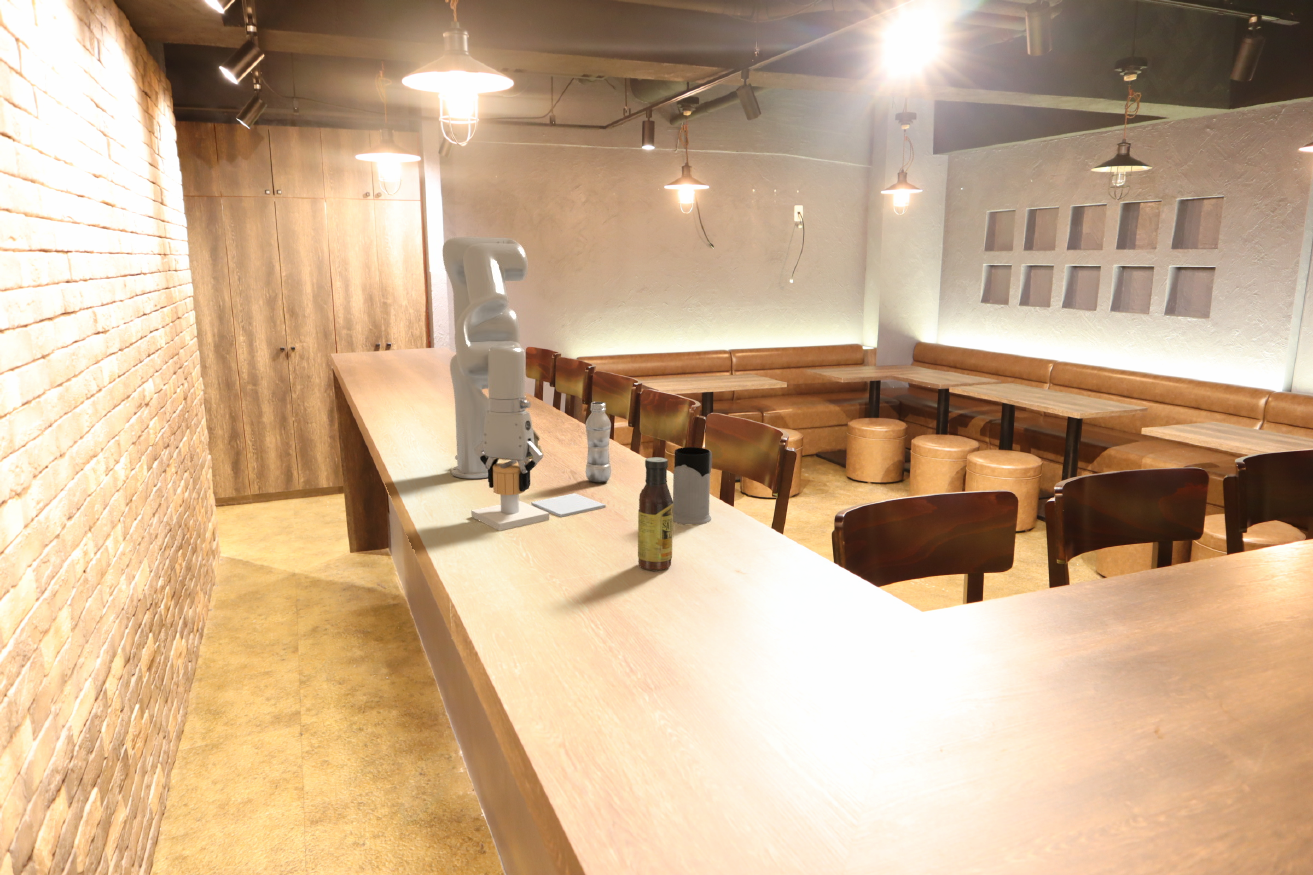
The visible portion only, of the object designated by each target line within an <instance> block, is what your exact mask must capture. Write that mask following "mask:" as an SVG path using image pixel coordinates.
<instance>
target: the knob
mask: <svg viewBox="0 0 1313 875" xmlns="http://www.w3.org/2000/svg"><path fill="white" fill-rule="evenodd" d="M520 473H521V469H520V467H519V465H518V462H517V460H508V461H504V462H502V461H501V462H498V463H497V464H494V465H493V488H492V489H493V494H494V493H495V494H497V495H500V496H501V495H513V494H514V495H515V494H519V495H520V494H523V493H524V492H526V490H525V491H523V492H521V491H520V490H519V474H520Z"/></svg>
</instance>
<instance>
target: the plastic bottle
mask: <svg viewBox="0 0 1313 875" xmlns="http://www.w3.org/2000/svg"><path fill="white" fill-rule="evenodd" d="M606 410H607V408H606V402H603V401H593V402H591V403H590V411H591V413H590V415H589V416H588V417H587V419H586V421H585V424H584V425H585V432H586V439H587V459H586V464H585V476H586V479H587V480H588V482H593V483H604V482H607V481H609V480H610V478H611V475H612V466H611V463H610V462H611V461H610V460H611V459H610V446H609V445H610V435H611V427H612V423H611V420H610V418H609V417H608V415H607V413H606Z"/></svg>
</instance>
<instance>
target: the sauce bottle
mask: <svg viewBox="0 0 1313 875" xmlns="http://www.w3.org/2000/svg"><path fill="white" fill-rule="evenodd" d="M644 467H645V485H644V487H643V488H642V489H641V491H640V493H639V498H638V501H639V502H638V505H639V506H638V510H637V511H638V513H637V514H638V515H637V516H638V517H637V518H638V519H637V522H638V524H637V526H638V527H637V557H638V561H637V562H638V563H637V564H638V566H639V567H640V568H641V569H644V570H646V571H654V572H655V571H656V572H657V571H664V570H666V569H669V568H670V567H671V566H672V558H673V535H674V534H673V533H674V532H673V530H674V529H673V527H674V522H673V496H672V495H671V492H670V488H669V486H668V478H667V477H668V476H667V474H668V472H667V471H668V467H669V464H668V459H667V458H665V457H658V456H657V457H656V456H655V457H648V458H646V459H645V460H644Z"/></svg>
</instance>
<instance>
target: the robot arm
mask: <svg viewBox="0 0 1313 875" xmlns="http://www.w3.org/2000/svg"><path fill="white" fill-rule="evenodd" d="M442 259H443V260H442V262H443V264H444V265H443V266H444V269H445V271H446V273H447V276H448V279H449V281H450V284H451V287H452V295H453V298H452V300H453V319H454V320H453V321H454V323H453V324H454V345H455V352H456V354H455V355H453V356H452V357H451V359H450V362H449V363H450V364H449V372H450V376H451V377H450V378H451V383H452V388H453V389H452V390H453V396H454V408H455V409H454V410H455V412H454V414H455V433H456V436H455V437H456V455H455V456H454V460H456V462H457V465H456V466H454V467H453V468H452V469H451V475H452V476H453V477H455V478H460V479H461V478H462V479H469V480H470V479H472V480H473V479H486V478H487V482H488V487H489V488H490V489H493V465H494V464H497V463H499V460H507V461H511V460H517V462H518V465H519V467H520V469H521V473H520V474H519V490H520V491H521V492H523V491H525V492H526V490H527V491H528V490H529V489H530V486H531V471H533V469H534V468H536V466H537V465H538V463H540V461H541V460H542V459H543V458H544V453H543V454H542V453H541V452H540V451H539V450H538V449H537V448H536V447H535V446H534V434H533V430H534V427H533V421H532V417H531V413H530V411H528V410H527V409H530V408H531V406H532V403H531V401H528V400H527V397H526V371H525V370H526V369H525V367H526V361H527V360H526V352H525V349H524V348H523V347H522V346H521V331H520V323H519V318H518V315H517V312H516V311H515V310H514V309H512V308H510V307H509V297H508V291H507V287H506V282H521V281H523V280H525V279H526V277H527V275H528V272H529V260H528V257H527V253H526V250H525V249H524V247H523V246H522V245H521V243H519V242H518V241H516V240H515V239H513V238H511V237H510V238H509V237H491V236H488V237H487V236H485V237H484V236H458V237H457V236H456V237H452V238H449V239H447V240H445V242H444V243H443V246H442ZM486 389H487V390H488V396H487V395H486V394H485V393H484V392H483V390H486ZM530 456H533V458H531V460H530V458H528V457H530ZM523 493H524V492H523Z"/></svg>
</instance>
